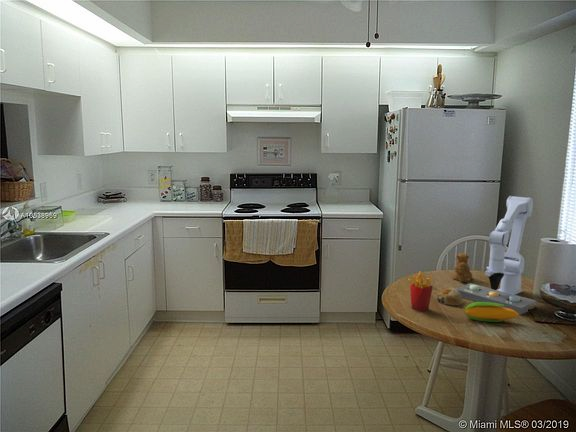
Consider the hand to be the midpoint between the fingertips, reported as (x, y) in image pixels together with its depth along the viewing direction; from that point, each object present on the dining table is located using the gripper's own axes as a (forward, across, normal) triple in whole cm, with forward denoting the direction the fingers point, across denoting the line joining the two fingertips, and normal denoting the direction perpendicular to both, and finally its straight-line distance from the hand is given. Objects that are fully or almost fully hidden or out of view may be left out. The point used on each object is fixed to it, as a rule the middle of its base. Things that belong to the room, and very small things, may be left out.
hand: (494, 289), depth 204 cm
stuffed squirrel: (+6, -17, -25) cm, 31 cm away
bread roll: (+6, +16, -11) cm, 21 cm away
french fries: (+5, +34, -15) cm, 38 cm away
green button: (+4, 0, -9) cm, 10 cm away
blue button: (+4, 0, +9) cm, 10 cm away
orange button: (+5, 0, 0) cm, 5 cm away
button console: (+5, 0, 0) cm, 5 cm away
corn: (+6, +22, +10) cm, 25 cm away
